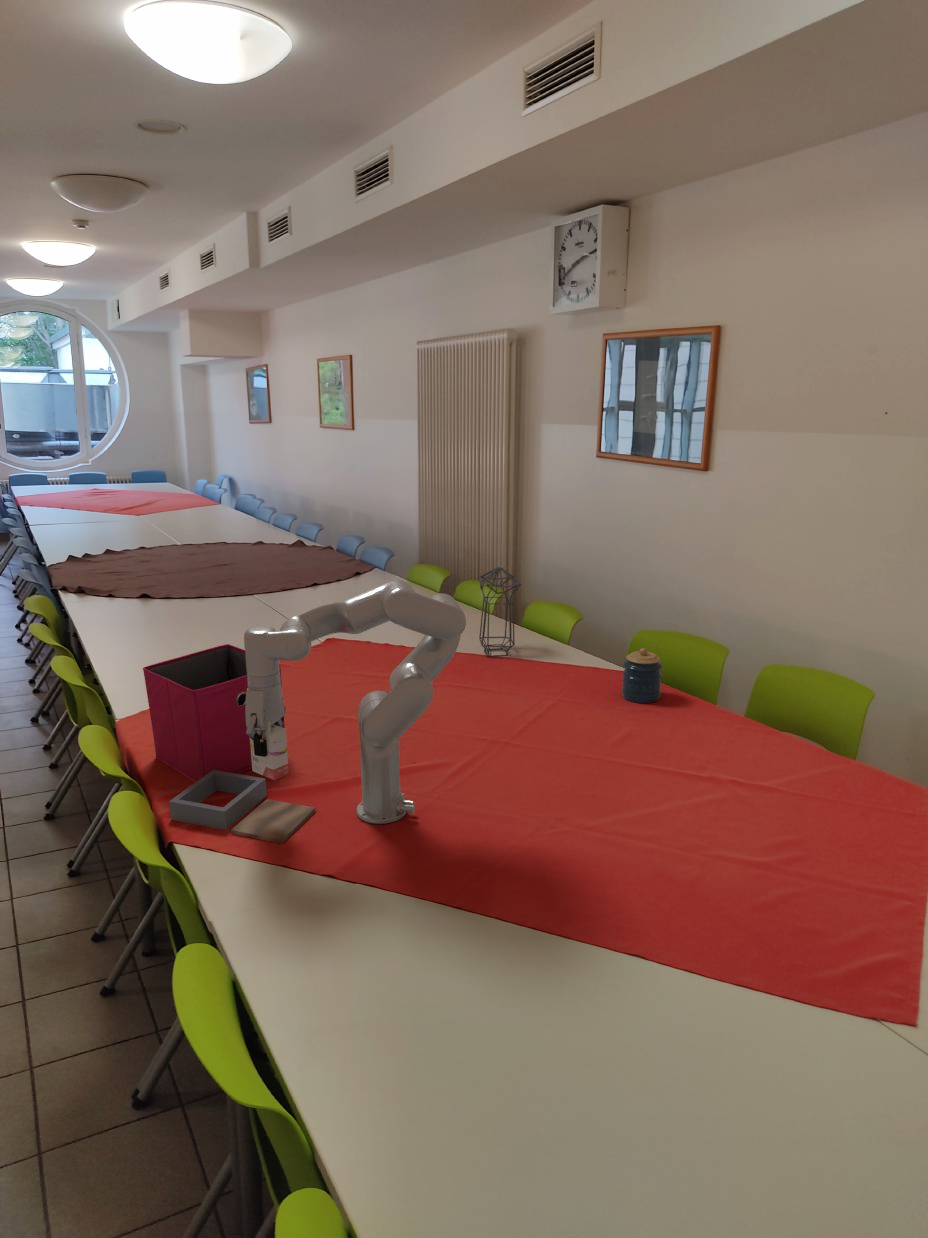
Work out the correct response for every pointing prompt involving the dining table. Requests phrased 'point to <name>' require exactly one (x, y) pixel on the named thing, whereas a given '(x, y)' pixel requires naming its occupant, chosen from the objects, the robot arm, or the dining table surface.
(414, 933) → the dining table surface
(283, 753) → the ink cartridge box
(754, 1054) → the dining table surface
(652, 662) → the canister
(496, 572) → the geometric lantern
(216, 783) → the gray rectangular frame
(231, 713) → the storage bin
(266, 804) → the walnut mat
